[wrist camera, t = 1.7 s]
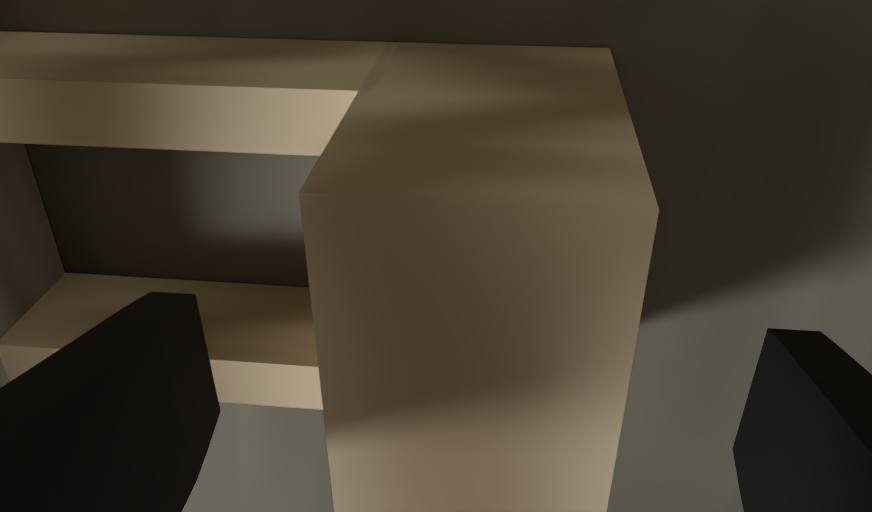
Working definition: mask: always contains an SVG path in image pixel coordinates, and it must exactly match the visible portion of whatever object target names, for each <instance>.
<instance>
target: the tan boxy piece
mask: <svg viewBox="0 0 872 512" xmlns="http://www.w3.org/2000/svg"><path fill="white" fill-rule="evenodd" d="M24 143H25V144H49V145H72V146H96V147H119V148H143V149H166V150H190V151H213V152H237V153H260V154H284V155H307V156H320V157H319V159H318V161H317V162H316V164H315V166H314V168H313V169H312V171H311V173H310V174H309V176H308V178H307V179H306V181H305V183H304V185H303V186H302V188H301V190H300V191H299V199H300V208H301V217H302V226H303V235H304V244H305V253H306V262H307V271H308V280H309V287H295V286H278V285H262V284H245V283H228V282H211V281H195V280H178V279H161V278H144V277H128V276H111V275H94V274H77V273H65V271H64V268H63V265H62V262H61V259H60V255H59V252H58V249H57V246H56V243H55V240H54V236H53V233H52V230H51V227H50V224H49V221H48V217H47V214H46V211H45V208H44V205H43V202H42V198H41V195H40V192H39V189H38V186H37V183H36V179H35V176H34V173H33V170H32V167H31V164H30V161H29V157H28V154H27V151H26V148H25V145H24ZM658 214H659V208H658V204H657V201H656V198H655V195H654V191H653V188H652V185H651V181H650V178H649V175H648V172H647V168H646V165H645V162H644V159H643V155H642V152H641V149H640V146H639V142H638V139H637V136H636V133H635V129H634V126H633V123H632V120H631V116H630V113H629V110H628V107H627V103H626V100H625V97H624V94H623V90H622V87H621V84H620V81H619V77H618V74H617V71H616V68H615V64H614V61H613V58H612V55H611V51H610V48H589V47H553V46H517V45H480V44H444V43H408V42H372V41H335V40H299V39H263V38H227V37H190V36H154V35H118V34H81V33H45V32H9V31H0V388H1V387H3V386H4V385H6V384H7V383H9V382H10V381H12V380H13V379H15V378H17V377H18V376H20V375H21V374H23V373H24V372H26V371H27V370H29V369H30V368H32V367H33V366H35V365H37V364H38V363H40V362H41V361H43V360H44V359H46V358H47V357H49V356H50V355H52V354H53V353H55V352H56V351H58V350H60V349H61V348H63V347H64V346H66V345H67V344H69V343H70V342H72V341H73V340H75V339H76V338H78V337H79V336H81V335H82V334H84V333H85V332H87V331H88V330H90V329H91V328H93V327H94V326H96V325H98V324H99V323H101V322H102V321H104V320H105V319H107V318H108V317H110V316H111V315H113V314H114V313H116V312H118V311H119V310H121V309H122V308H124V307H125V306H127V305H129V304H130V303H132V302H134V301H135V300H137V299H139V298H140V297H142V296H144V295H146V294H148V293H149V292H167V293H184V294H196V299H197V303H198V308H199V313H200V317H201V322H202V327H203V331H204V336H205V341H206V345H207V350H208V355H209V360H210V364H211V369H212V374H213V378H214V383H215V388H216V392H217V397H218V402H227V403H240V404H254V405H267V406H280V407H294V408H307V409H320V410H323V414H324V422H325V431H326V440H327V449H328V458H329V467H330V476H331V485H332V494H333V503H334V512H607V506H608V500H609V494H610V489H611V483H612V477H613V472H614V466H615V460H616V454H617V449H618V443H619V437H620V431H621V426H622V420H623V414H624V409H625V403H626V397H627V391H628V386H629V380H630V374H631V368H632V363H633V357H634V351H635V346H636V340H637V334H638V328H639V323H640V317H641V311H642V305H643V300H644V294H645V288H646V283H647V277H648V271H649V265H650V260H651V254H652V248H653V242H654V237H655V231H656V225H657V220H658Z"/></svg>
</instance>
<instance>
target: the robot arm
mask: <svg viewBox="0 0 872 512" xmlns="http://www.w3.org/2000/svg"><path fill="white" fill-rule="evenodd" d="M219 414H220V406H219V402H218V397H217V392H216V388H215V383H214V378H213V374H212V369H211V364H210V360H209V355H208V350H207V345H206V341H205V336H204V331H203V327H202V322H201V317H200V313H199V308H198V303H197V299H196V294H184V293H167V292H149V293H148V294H146V295H144V296H142V297H140V298H139V299H137V300H135V301H134V302H132V303H130V304H129V305H127V306H125V307H124V308H122V309H121V310H119V311H118V312H116V313H114V314H113V315H111V316H110V317H108V318H107V319H105V320H104V321H102V322H101V323H99V324H98V325H96V326H94V327H93V328H91V329H90V330H88V331H87V332H85V333H84V334H82V335H81V336H79V337H78V338H76V339H75V340H73V341H72V342H70V343H69V344H67V345H66V346H64V347H63V348H61V349H60V350H58V351H56V352H55V353H53V354H52V355H50V356H49V357H47V358H46V359H44V360H43V361H41V362H40V363H38V364H37V365H35V366H33V367H32V368H30V369H29V370H27V371H26V372H24V373H23V374H21V375H20V376H18V377H17V378H15V379H13V380H12V381H10V382H9V383H7V384H6V385H4V386H3V387H1V388H0V512H182V510H183V508H184V506H185V504H186V501H187V499H188V497H189V495H190V493H191V491H192V489H193V487H194V485H195V483H196V481H197V478H198V475H199V473H200V470H201V467H202V464H203V461H204V459H205V456H206V453H207V450H208V447H209V444H210V441H211V438H212V435H213V432H214V429H215V426H216V423H217V420H218V417H219ZM733 454H734V460H735V465H736V471H737V477H738V483H739V489H740V494H741V499H742V504H743V509H744V512H872V375H871V374H870V373H869V372H868V371H867V370H866V369H864V368H863V367H862V366H861V365H860V364H859V363H858V362H856V361H855V360H854V359H853V358H852V357H851V356H850V355H848V354H847V353H846V352H845V351H844V350H843V349H841V348H840V347H839V346H838V345H837V344H835V343H834V342H833V341H832V340H830V339H829V338H828V337H827V336H825V335H824V334H823V333H822V332H820V331H803V330H787V329H770V328H768V329H767V333H766V336H765V340H764V343H763V346H762V350H761V353H760V357H759V360H758V364H757V367H756V370H755V374H754V377H753V381H752V384H751V388H750V391H749V394H748V398H747V401H746V405H745V408H744V412H743V415H742V418H741V422H740V425H739V429H738V432H737V436H736V439H735V442H734V446H733Z"/></svg>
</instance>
